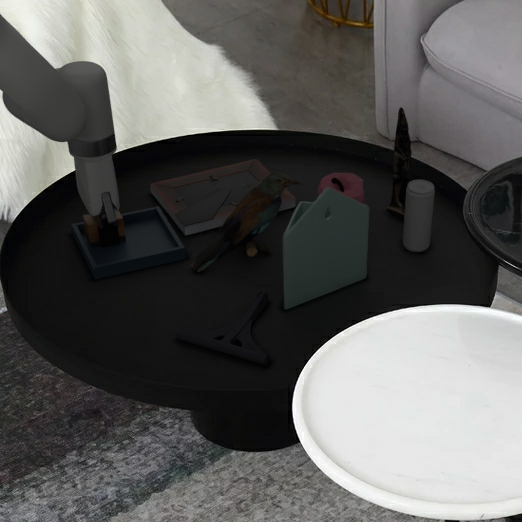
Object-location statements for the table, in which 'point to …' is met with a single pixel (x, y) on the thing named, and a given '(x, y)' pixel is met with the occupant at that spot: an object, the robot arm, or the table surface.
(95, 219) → the brown wooden block
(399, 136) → the statue
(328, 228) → the planter
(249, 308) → the bracket
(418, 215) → the beverage can
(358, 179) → the apple
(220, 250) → the bird figurine
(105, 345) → the table surface
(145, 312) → the table surface
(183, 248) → the tray
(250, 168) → the picture frame
